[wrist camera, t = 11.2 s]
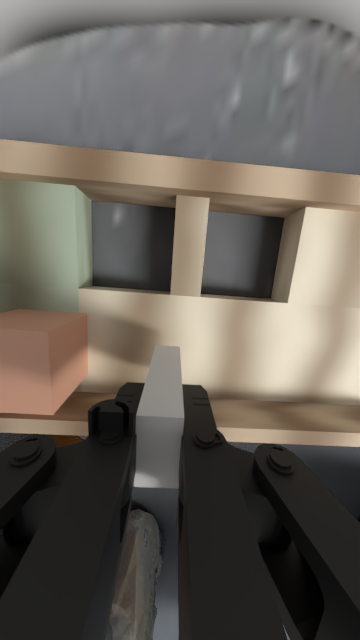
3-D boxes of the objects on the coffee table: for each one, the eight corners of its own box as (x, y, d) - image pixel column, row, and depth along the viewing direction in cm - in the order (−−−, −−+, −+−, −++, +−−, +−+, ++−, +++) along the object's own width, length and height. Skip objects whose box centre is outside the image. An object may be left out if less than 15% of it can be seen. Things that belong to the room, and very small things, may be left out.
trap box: (407, 206, 15) (534, 169, 10) (351, 398, 19) (423, 449, 13) (-15, 166, 14) (-134, 98, 8) (10, 381, 17) (-63, 430, 12)
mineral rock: (51, 580, 23) (-40, 810, 13) (33, 505, 20) (-96, 718, 11) (168, 572, 23) (163, 792, 13) (163, 497, 21) (153, 699, 11)
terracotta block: (87, 313, 14) (47, 331, 9) (88, 373, 15) (52, 415, 10) (19, 308, 14) (-53, 325, 9) (24, 370, 15) (-38, 410, 10)
